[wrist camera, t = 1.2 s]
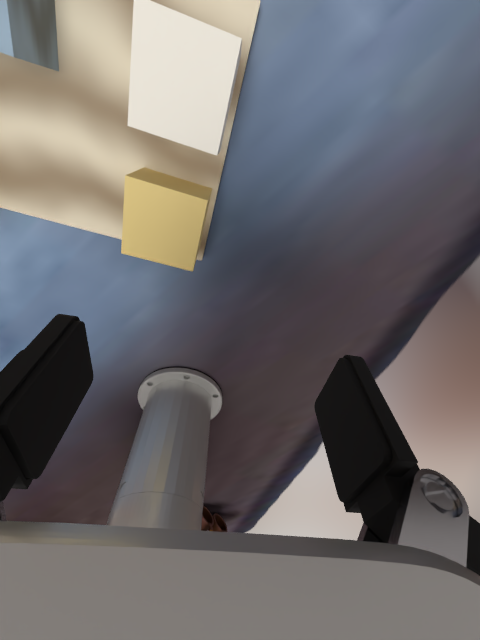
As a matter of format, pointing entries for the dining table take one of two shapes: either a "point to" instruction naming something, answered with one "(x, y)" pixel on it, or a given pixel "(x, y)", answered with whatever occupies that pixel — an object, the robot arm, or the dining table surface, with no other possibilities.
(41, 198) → the build board
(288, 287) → the dining table surface
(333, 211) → the dining table surface
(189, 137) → the cream block
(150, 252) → the mustard block
